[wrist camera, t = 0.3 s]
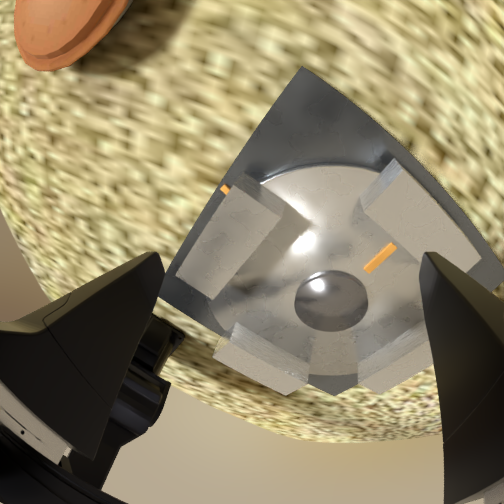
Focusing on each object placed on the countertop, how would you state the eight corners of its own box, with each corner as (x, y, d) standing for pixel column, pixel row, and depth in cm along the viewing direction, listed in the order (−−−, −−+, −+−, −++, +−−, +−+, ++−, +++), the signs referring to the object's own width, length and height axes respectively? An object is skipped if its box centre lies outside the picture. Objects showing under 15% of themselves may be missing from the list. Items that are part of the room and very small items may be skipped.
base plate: (334, 386, 35) (334, 397, 33) (160, 284, 31) (153, 294, 30) (502, 266, 21) (509, 277, 19) (303, 67, 17) (301, 65, 16)
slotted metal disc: (334, 391, 33) (332, 416, 30) (164, 295, 29) (149, 318, 26) (498, 278, 20) (512, 304, 17) (306, 86, 16) (302, 87, 14)
